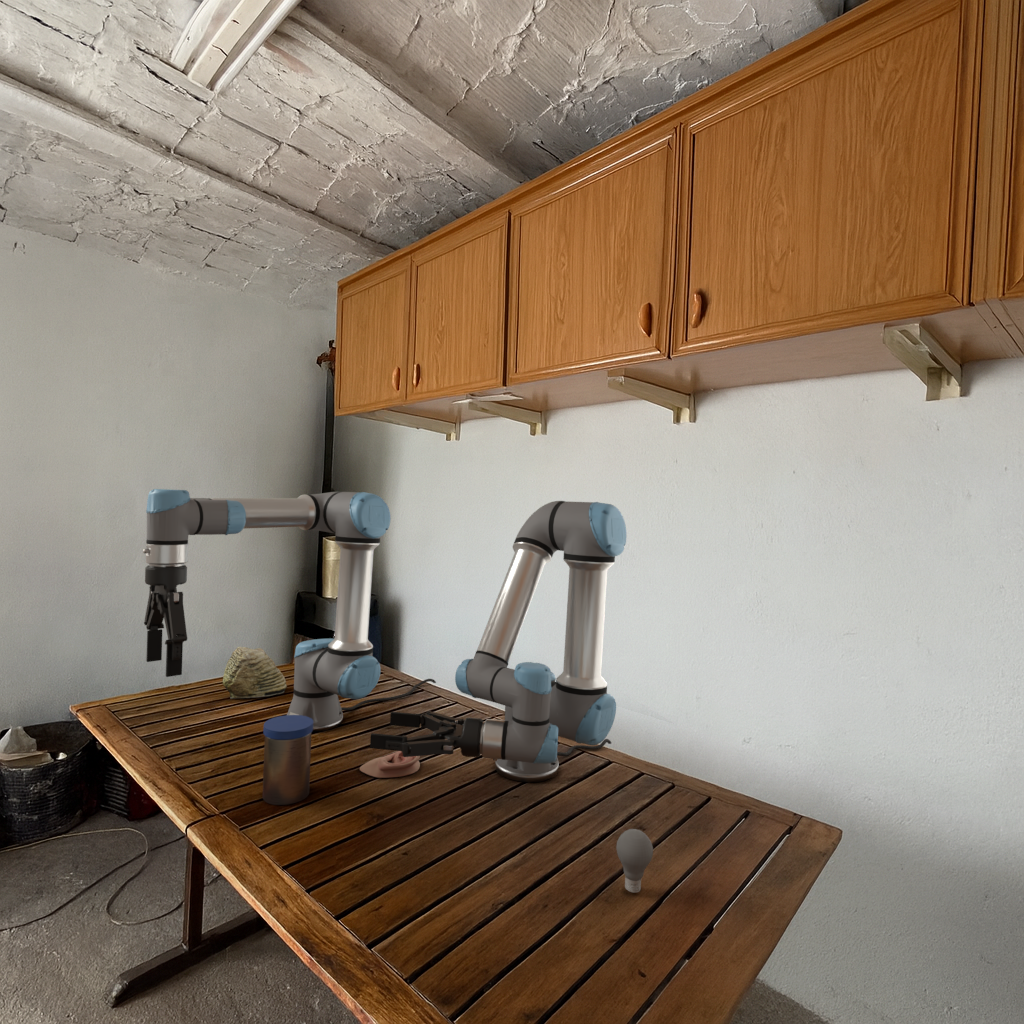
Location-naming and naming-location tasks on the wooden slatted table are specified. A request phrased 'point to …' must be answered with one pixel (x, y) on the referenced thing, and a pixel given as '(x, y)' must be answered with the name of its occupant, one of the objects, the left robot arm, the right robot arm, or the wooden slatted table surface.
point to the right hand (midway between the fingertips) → (381, 728)
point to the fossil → (252, 674)
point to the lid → (288, 727)
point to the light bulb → (634, 857)
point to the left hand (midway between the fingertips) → (163, 668)
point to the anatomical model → (391, 766)
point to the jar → (286, 770)
